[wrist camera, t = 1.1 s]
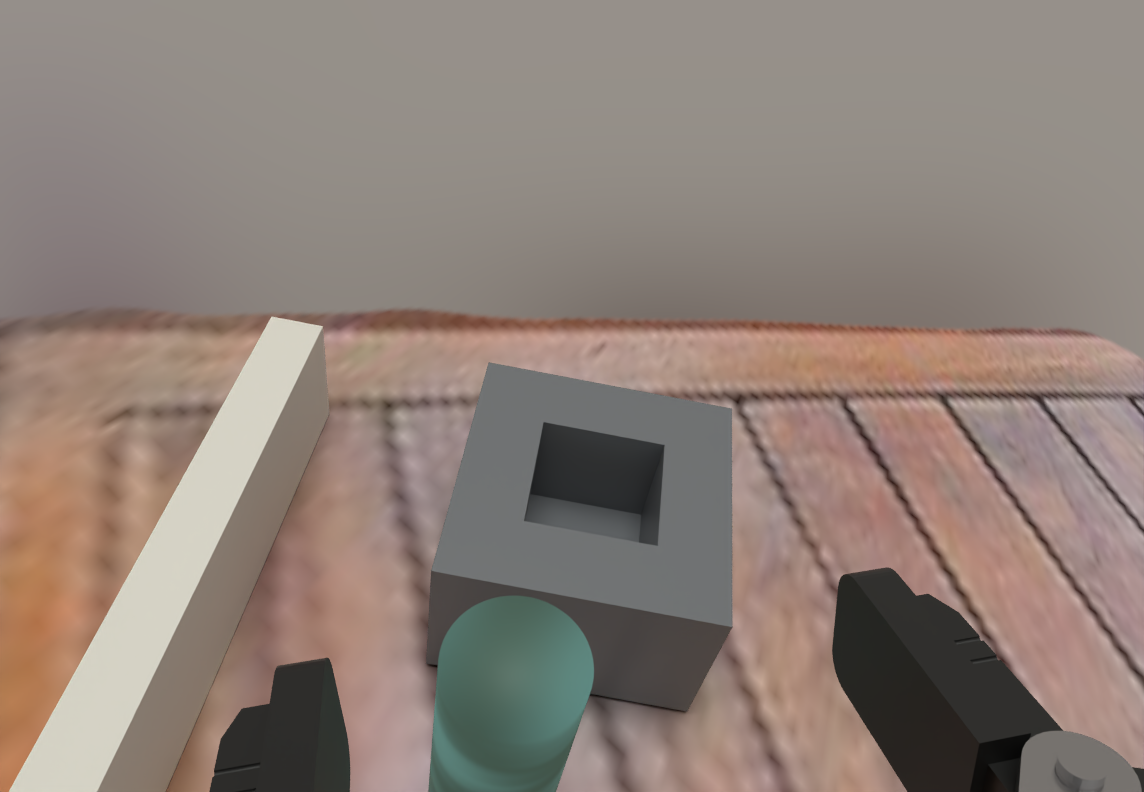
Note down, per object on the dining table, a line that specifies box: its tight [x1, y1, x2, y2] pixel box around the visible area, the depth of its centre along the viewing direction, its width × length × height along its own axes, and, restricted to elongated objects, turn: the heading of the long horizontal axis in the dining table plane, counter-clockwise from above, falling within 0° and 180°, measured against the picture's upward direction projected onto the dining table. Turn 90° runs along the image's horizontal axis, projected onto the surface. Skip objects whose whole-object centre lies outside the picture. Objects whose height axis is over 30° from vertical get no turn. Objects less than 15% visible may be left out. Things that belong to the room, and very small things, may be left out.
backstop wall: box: [9, 317, 329, 792], centre depth 36 cm, size 2×22×6 cm, turn 173°
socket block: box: [426, 363, 732, 711], centre depth 39 cm, size 11×11×7 cm
